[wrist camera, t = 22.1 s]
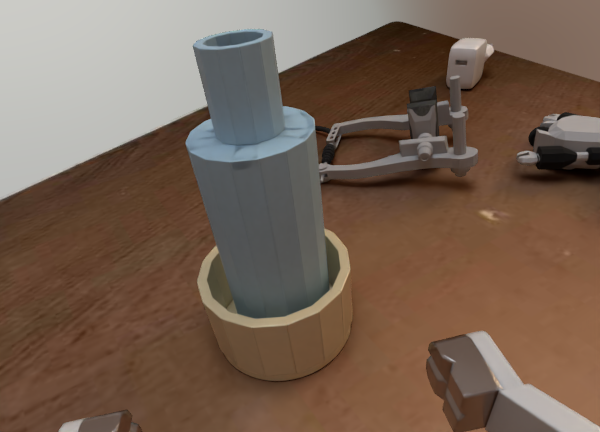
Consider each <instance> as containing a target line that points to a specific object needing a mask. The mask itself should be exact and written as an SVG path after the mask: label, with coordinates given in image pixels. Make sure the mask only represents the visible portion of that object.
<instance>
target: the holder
mask: <svg viewBox="0 0 600 432" xmlns="http://www.w3.org/2000/svg"><path fill="white" fill-rule="evenodd" d="M324 232H325V243H326V254H327V266H328V277H329V288H330V290H329V291H328V292H327V293H326V294H325V295H324V296H322V297H321V298H320V299H319V300H318V301H317V302H316V303H314V304H313V305H312V306H310V307H307V308H305V309H302V310H300V311H297V312H295V313H292V314H290V315H287V316H285V317H271V318H258V319H254V318H251V317H247V316H243V315H240V314H237V310H236V307H235V304H234V301H233V297H232V294H231V291H230V287H229V284H228V281H227V278H226V274H225V271H224V268H223V265H222V261H221V258H220V255H219V251H218V248H217V245H216V246H215V247H214V248H213V249H212V251H211V252H210V253H209V254H208V255H207V256H206V258H205V259H204V260H203V262H202V266H201V269H200V273H199V276H198V280H197V285H198V288H199V292H200V295H201V299H202V302H203V305H204V308H205V310H206V313H207V316H208V318H209V321H210V324H211V326H212V329H213V332H214V334H215V337H216V340H217V342H218V345H219V348H220V349H221V351H222V352H223V354H224V356H225V357H226V359H227V360H228V361H229V362H230V363H231V364H232V365H233V366H234V367H235V368H236V369H238V370H239V371H241V372H243V373H244V374H247V375H249V376H251V377H254V378H258V379H262V380H269V381H285V380H293V379H297V378H301V377H304V376H307V375H309V374H312V373H314V372H316V371H317V370H319V369H321V368H322V367H324V366H325V365H327V364H328V363H329V362H330V361H332V360H333V359H334V358H335V357H336V356H337V354H338V353H339V352H340V351H341V350H342V348H343V346H344V345H345V343H346V341H347V339H348V337H349V334H350V330H351V325H352V318H353V312H352V288H351V268H350V261H349V255H348V250H347V248H346V247H345V246H344V244H343V243H342V242H341V241H340V240H339V238H338V237H337V236H336V235H335V234H334V233H333V232H331V231H329V230H327V229H325V228H324Z"/></svg>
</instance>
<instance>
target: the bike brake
mask: <svg viewBox="0 0 600 432" xmlns="http://www.w3.org/2000/svg"><path fill="white" fill-rule="evenodd" d="M449 79H450V104H451V107H449V103H448V101H442V102H437V96H436V86H434V87H428V88H422V89H416V90H409V97H410V104H407V112H408V115H394V116H381V117H370V118H364V119H358V120H353V121H348V122H344V123H337V124H334V125H333V126H332V129H329V128H326V127H321V126H315V130H317V131H323V132H326V133H328V134H329V135H328V137H327V139H326V142H327V145H326V146H325V148H324V150H323V153H322V157H323V158H322V164H319V176H320V182H321V183H322V182H327V181H329V180H330V179H358V178H367V177H372V176H378V175H384V174H390V173H396V172H402V171H409V170H418V169H426V168H451V171H452V172H454V173H455V175H456V176H458V177H462V176H465V175H466V172H468V171H469V170H470V167H473V166H474V165H476V164H477V162H478V150H477V149H476V148H472V147H466V126H465V120H467V119H468V109H467V108H466V107H465V106H461V90H460V76H452V77H450V78H449ZM440 125H448V126H449V127H450V128H452V131H453V147H452V148H448V142H447V136H439V126H440ZM380 128H383V129H395V130H409V129H410V136H411V139H410V140H401V141H399V146H400V153H398V154H395V155H392V156H389V157H386V158H383V159H379V160H376V161H373V162H367V163H362V164H356V165H330V163H331V161H332V160H333V158H334V154H335V152H334V151H335V149H336V148H337V145H338V143H339V140H340V138H341V135H342V134H344V133H349V132H355V131H360V130H366V129H380ZM337 136H339V137H338V138H337ZM330 137H332V138H331V139H330ZM336 140H337V142H335V141H336Z"/></svg>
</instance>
